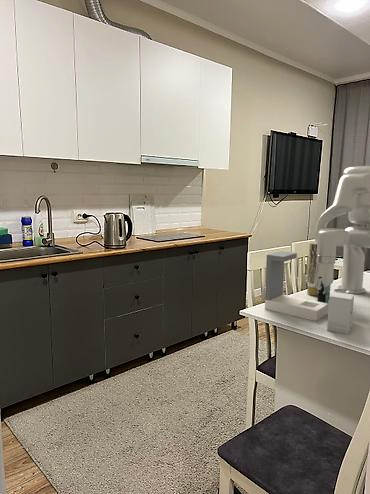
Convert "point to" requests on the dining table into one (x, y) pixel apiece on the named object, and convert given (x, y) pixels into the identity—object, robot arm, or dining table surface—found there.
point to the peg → (326, 293)
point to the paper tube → (312, 269)
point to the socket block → (285, 302)
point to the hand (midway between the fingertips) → (323, 300)
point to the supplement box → (340, 312)
